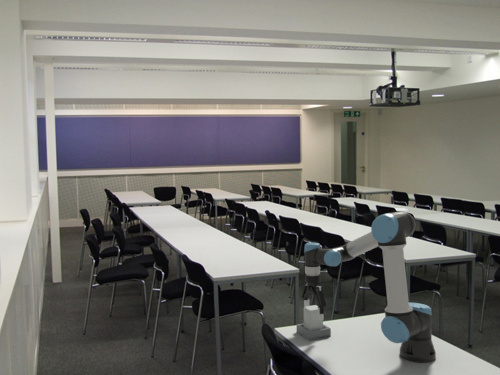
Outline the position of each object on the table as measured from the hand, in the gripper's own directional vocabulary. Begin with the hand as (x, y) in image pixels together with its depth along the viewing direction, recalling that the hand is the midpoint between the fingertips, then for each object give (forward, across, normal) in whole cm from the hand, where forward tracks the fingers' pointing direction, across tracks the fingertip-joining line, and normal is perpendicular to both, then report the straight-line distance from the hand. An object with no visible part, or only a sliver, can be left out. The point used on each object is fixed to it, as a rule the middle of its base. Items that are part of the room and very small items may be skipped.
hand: (313, 316), depth 246 cm
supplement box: (+8, +1, 0) cm, 9 cm away
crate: (+9, +1, 0) cm, 9 cm away
